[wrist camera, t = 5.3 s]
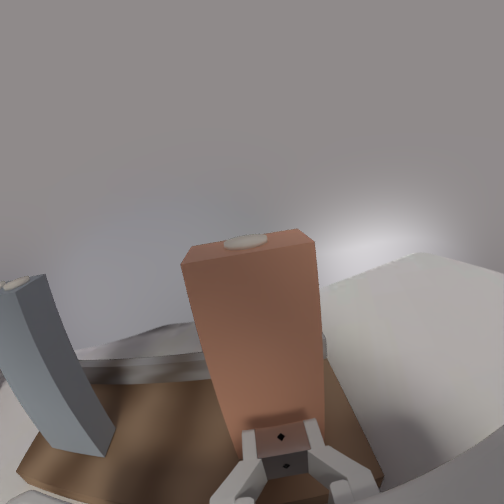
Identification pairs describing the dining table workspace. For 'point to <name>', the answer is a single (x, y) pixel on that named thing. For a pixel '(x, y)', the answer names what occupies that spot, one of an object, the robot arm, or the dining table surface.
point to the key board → (177, 439)
